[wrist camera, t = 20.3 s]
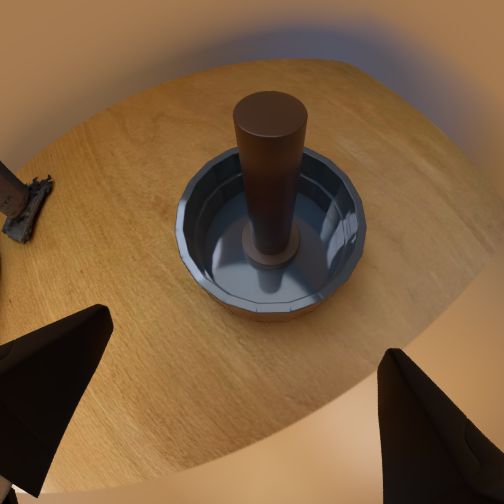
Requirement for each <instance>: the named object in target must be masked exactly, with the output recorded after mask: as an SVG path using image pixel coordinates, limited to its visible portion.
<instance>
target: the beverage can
mask: <svg viewBox="0 0 504 504" xmlns="http://www.w3.org/2000/svg"><path fill="white" fill-rule="evenodd" d="M38 177H39V176H38ZM38 177H36V178H34V179H33V184H27V183H26V184H25V185H24V184H23V183H22V182H21V181H20V180H19V179H18V178H17V177H16V176H15V175H14V174H13V173H12V172H11V171H10V170H8V168H6V166H5V165H4V164H3V163H2V162H1V161H0V211H1V212H2V213H4V214H5V215H6V216H7V219H6V221H5V224H4V225H3V229H2V230H1V231H2V232H3V233H5V234H8V235H9V237H10V236H11V237H10V238H12V239H13V240H14V239H15V240H17V241H18V240H19V241H20V242H21V239H23V237H24V240H25V241H24V244H25V243H26V242H27V241H28V240H29V239H30V236H31V231H32V224H33V223H32V222H33V221H34V220H33V219H34V215H35V214H37V210H38V209H39V210H40V208H41V205H42V204H43V203H42V201H41V199H44V198H45V195H47V194H48V193H50V191H51V186H52V185H51V184H50V182H49V183H48V180H50V179H51V176H50V175H48V178H47V179H46V180H41V182H38V181H37V179H38ZM39 183H40V184H39ZM51 183H52V182H51ZM17 238H18V239H17Z"/></svg>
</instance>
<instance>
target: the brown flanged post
mask: <svg viewBox="0 0 504 504" xmlns="http://www.w3.org/2000/svg"><path fill="white" fill-rule="evenodd" d="M307 118H308V114H307V110H306V108H305V106H304V105H303V103H302V102H301V101H300V100H298V99H297V98H295V97H293V96H291V95H289V94H286V93H283V92H277V91H263V92H257V93H254V94H251V95H248V96H246V97H245V98H243V99H242V100H241V101H239V102H238V104H237V105H236V106H235V108H234V111H233V120H234V126H235V133H236V139H237V146H238V152H239V159H240V165H241V171H242V178H243V184H244V191H245V197H246V204H247V210H248V217H249V221H248V222H247V223H246V224H245V226H244V228H243V230H242V235H241V242H242V247H243V251H244V253H245V255H246V257H247V259H248V260H249V261H250V262H251V263H252V264H254V265H255V266H257V267H259V268H262V269H266V270H276V269H280V268H283V267H285V266H286V265H288V264H289V263H290V262H291V261H292V260H293V259H294V258H295V256H296V254H297V252H298V249H299V245H300V232H299V229H298V227H297V225H296V224H295V222H294V221H293V216H294V209H295V203H296V196H297V190H298V183H299V176H300V170H301V163H302V155H303V148H304V141H305V133H306V125H307Z"/></svg>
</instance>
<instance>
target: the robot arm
mask: <svg viewBox="0 0 504 504" xmlns="http://www.w3.org/2000/svg"><path fill="white" fill-rule="evenodd" d="M112 332H113V322H112V318H111V315H110V311H109V308H108V307H107V306H104V305H101V304H95V305H93V306H91V307H88V308H86V309H84V310H81V311H79V312H77V313H74V314H72V315H70V316H67V317H65V318H63V319H60V320H58V321H56V322H54V323H51V324H49V325H47V326H44V327H42V328H40V329H37V330H35V331H33V332H31V333H28V334H26V335H24V336H21V337H19V338H17V339H15V340H12V341H10V342H8V343H6V344H3V345H1V346H0V504H18V501H17V497H16V494H15V490H14V489H13V488H12V487H11V486H12V485H13V484H14V485H16V486H17V487H19V488H21V489H22V490H24V491H25V492H27V493H29V494H31V495H32V496H34V497H36V498H38V496H39V494H40V491H41V489H42V486H43V483H44V481H45V478H46V475H47V473H48V470H49V468H50V465H51V463H52V460H53V458H54V455H55V453H56V451H57V448H58V446H59V444H60V442H61V439H62V437H63V435H64V433H65V430H66V428H67V426H68V424H69V422H70V420H71V418H72V416H73V414H74V411H75V409H76V407H77V405H78V403H79V401H80V399H81V397H82V395H83V393H84V392H85V390H86V388H87V386H88V384H89V382H90V380H91V378H92V376H93V374H94V373H95V371H96V369H97V367H98V364H99V362H100V360H101V358H102V355H103V353H104V350H105V348H106V346H107V343H108V341H109V339H110V337H111V334H112ZM377 380H378V419H379V428H380V440H381V453H382V471H383V504H504V453H503V452H502V451H501V450H500V449H498V448H497V447H496V446H495V445H494V444H493V443H492V442H491V441H490V440H489V439H488V438H487V437H485V435H483V434H482V432H481V431H480V430H479V429H478V428H477V427H476V426H475V425H474V424H473V423H472V422H471V421H470V420H469V419H468V418H467V417H466V415H465V414H464V413H463V412H462V411H461V410H460V409H459V408H458V407H457V406H456V405H455V404H454V403H453V402H452V401H451V400H450V399H449V398H448V396H447V395H446V394H445V393H444V392H443V391H442V390H441V389H440V388H439V387H438V386H437V385H436V384H435V383H434V382H433V381H432V380H431V379H430V378H429V377H428V376H427V375H426V374H425V373H424V372H423V371H422V370H421V369H420V368H419V367H418V366H417V365H416V364H415V363H414V362H413V361H412V360H411V359H410V358H409V357H408V356H407V355H406V354H405V353H404V352H403V351H402V350H401V349H399V348H389V349H387V351H386V352H385V354H384V356H383V358H382V360H381V362H380V364H379V366H378V370H377Z"/></svg>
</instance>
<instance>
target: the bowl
mask: <svg viewBox="0 0 504 504" xmlns="http://www.w3.org/2000/svg"><path fill="white" fill-rule="evenodd" d="M248 221H249V217H248V210H247V204H246V197H245V191H244V184H243V178H242V171H241V165H240V159H239V152H238V147H235V148H232V149H230V150H227V151H225V152H224V153H222V154H220V155H219V156H217V157H215V158H214V159H212V160H210V161H209V162H208V163H206V164H205V165H204V166H203V167H202V168H201V169H200V170H199V171H198V172H197V174H196V175H195V176H194V177H193V178H192V179H191V180H190V181H189V183H188V185H187V187H186V189H185V191H184V193H183V195H182V197H181V199H180V201H179V203H178V208H177V216H176V224H175V235H176V240H177V244H178V249H179V253H180V257H181V259H182V261H183V263H184V264H185V266H186V267H187V269H188V270H189V272H190V273H191V275H192V276H193V278H194V279H195V281H196V282H197V284H198V285H199V286H200V287H201V288H202V289H203V290H205V291H206V292H207V293H208V294H209V295H210V296H211V297H212V298H213V299H214V300H215V301H217V302H218V303H219V304H221V305H222V306H223V307H225V308H226V309H227V310H229V311H230V312H232V313H233V314H235V315H238V316H241V317H245V318H248V319H251V320H254V321H258V322H283V321H289V320H291V319H294V318H297V317H300V316H302V315H305V314H308V313H310V312H312V311H313V310H314V309H316V308H317V307H318V306H319V305H321V304H322V303H323V302H324V301H326V300H327V299H328V298H329V297H330V296H331V295H332V294H334V293H335V292H336V291H337V290H338V289H339V288H340V287H341V286H342V285H343V284H344V283H345V282H346V281H347V280H348V279H349V277H350V275H351V274H352V272H353V270H354V268H355V267H356V265H357V263H358V261H359V260H360V258H361V256H362V253H363V247H364V241H365V235H366V228H367V227H366V220H365V215H364V210H363V205H362V201H361V198H360V196H359V195H358V193H357V191H356V189H355V187H354V186H353V184H352V182H351V180H350V179H349V177H348V176H347V175H346V174H345V173H344V172H343V171H342V170H341V169H340V168H339V167H338V166H336V165H335V164H334V163H333V162H332V161H331V160H329V159H328V158H326V157H324V156H322V155H321V154H319V153H317V152H315V151H313V150H311V149H309V148H306V147H304V148H303V155H302V163H301V170H300V176H299V183H298V190H297V196H296V203H295V209H294V216H293V221H294V222H295V224H296V225H297V227H298V229H299V232H300V245H299V249H298V252H297V254H296V256H295V258H294V259H293V260H292V261H291V262H290V263H289V264H288V265H286V266H285V267H283V268H280V269H276V270H266V269H262V268H259V267H257V266H255V265H254V264H252V263H251V262H250V261H249V260H248V259H247V257H246V255H245V253H244V251H243V247H242V242H241V235H242V230H243V228H244V226H245V224H246V223H247V222H248Z"/></svg>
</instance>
